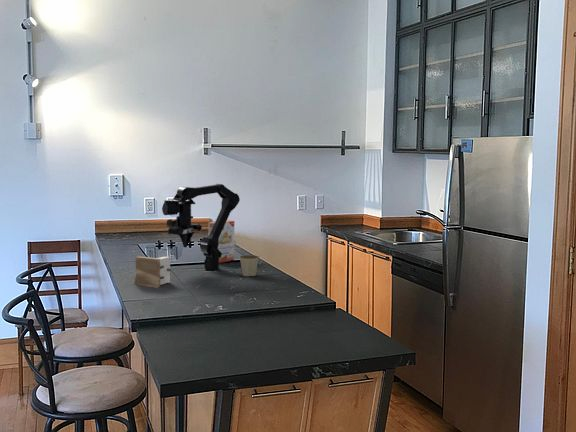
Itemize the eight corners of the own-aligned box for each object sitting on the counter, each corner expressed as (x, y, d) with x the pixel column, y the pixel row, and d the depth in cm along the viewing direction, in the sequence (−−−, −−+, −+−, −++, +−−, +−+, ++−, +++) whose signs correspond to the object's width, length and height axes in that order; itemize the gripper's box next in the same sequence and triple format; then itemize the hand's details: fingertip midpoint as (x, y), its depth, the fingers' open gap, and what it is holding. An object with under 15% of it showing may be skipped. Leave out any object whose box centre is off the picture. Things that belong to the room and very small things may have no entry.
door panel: (164, 281, 281) (164, 256, 280) (172, 282, 279) (172, 257, 278) (152, 284, 274) (152, 259, 273) (160, 285, 272) (160, 260, 271)
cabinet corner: (154, 278, 290) (153, 251, 289) (179, 281, 283) (179, 254, 282) (131, 284, 277) (131, 256, 275) (157, 287, 270) (156, 259, 269)
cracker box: (216, 264, 325) (216, 223, 322) (207, 262, 328) (207, 222, 326) (235, 260, 336) (234, 220, 334) (226, 259, 339) (226, 219, 337)
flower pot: (256, 277, 292) (256, 258, 291) (236, 276, 294) (236, 258, 293) (261, 273, 302) (261, 255, 301) (242, 272, 303) (242, 254, 302)
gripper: (183, 211, 312) (183, 243, 313) (158, 214, 295) (158, 248, 297) (202, 212, 306) (202, 245, 308) (177, 216, 290) (178, 250, 292)
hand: (185, 247), depth 301 cm, fingers closed
